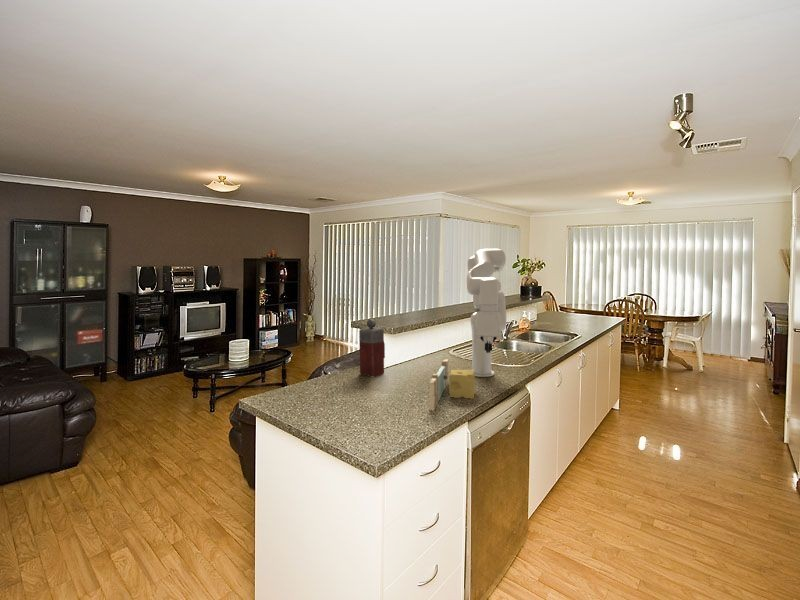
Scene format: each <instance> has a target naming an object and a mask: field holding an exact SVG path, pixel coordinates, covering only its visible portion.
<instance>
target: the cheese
mask: <svg viewBox="0 0 800 600" xmlns="http://www.w3.org/2000/svg"><path fill="white" fill-rule="evenodd" d="M475 381H476V376H475V373H474V370H472V369H451V371H450V374H449V376H448V385H449V387H448V388H449V391H448V392H449V398H450V397H454V399H461V398H463V399H468V398H471V399H470V400H474V399H475V385H476V382H475Z"/></svg>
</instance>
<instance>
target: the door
mask: <svg viewBox="0 0 800 600" xmlns="http://www.w3.org/2000/svg"><path fill="white" fill-rule="evenodd" d="M436 374H438V402H439V400H440V399H441V397H442V395H443V393H444V392H445V389H446V388H445V379H447V375H445V366H442V365H441V366H440V368H439V370H437V372H436Z"/></svg>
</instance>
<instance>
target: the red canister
mask: <svg viewBox="0 0 800 600" xmlns="http://www.w3.org/2000/svg"><path fill="white" fill-rule="evenodd" d="M366 325H367V327H364V328H360V329H359V330H358V331H359V334H358V338H359V343H358V344H359V374H360V373H361V374H365V375H364V376H366V375H369V376H368V377H371V376H375V377H377V375H378V376H380V374H381V375H383V373H384V374H385V358H386V353H385V352H386V351H385V350H386V344H385V339H384V337H385V336H384V335H385V334H384V333H385V332H384V331H385V330H384V328H383V327H377V326H376V325H377V322H376V321H375V319H373V318H372V319H368V320H367V321H366Z"/></svg>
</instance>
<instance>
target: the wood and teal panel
mask: <svg viewBox="0 0 800 600" xmlns="http://www.w3.org/2000/svg"><path fill="white" fill-rule="evenodd" d="M441 366H445V375H447V379H445V389H446V388H447V386H448V385H449V359H446V358H445V359H444V360H441ZM437 404H439V401H438V374H437V373H433V374H432V375H431V380H430V381H429V411H430V410H432V411H433V412H434V411H435V409H436V407H437V406H438V405H437ZM436 405H437V406H436ZM432 411H431V412H432Z"/></svg>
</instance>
